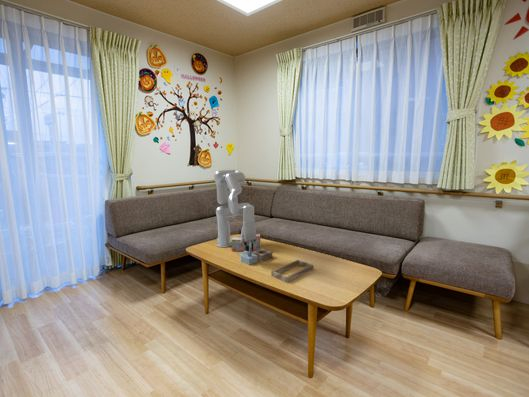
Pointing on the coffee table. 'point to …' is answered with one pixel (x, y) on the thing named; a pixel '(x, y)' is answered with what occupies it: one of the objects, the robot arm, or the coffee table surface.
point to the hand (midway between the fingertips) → (249, 249)
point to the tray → (242, 253)
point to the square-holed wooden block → (263, 254)
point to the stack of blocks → (241, 247)
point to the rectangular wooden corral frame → (288, 266)
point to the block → (249, 259)
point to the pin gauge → (249, 248)
